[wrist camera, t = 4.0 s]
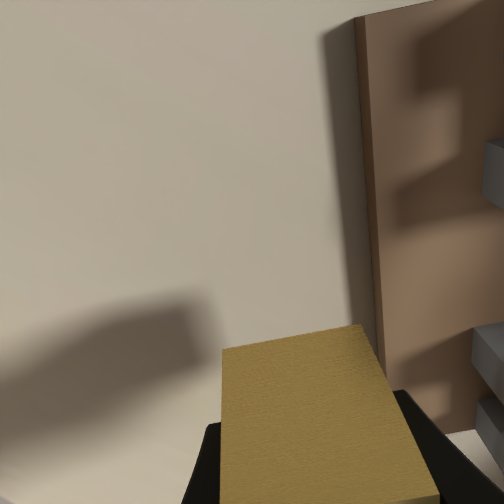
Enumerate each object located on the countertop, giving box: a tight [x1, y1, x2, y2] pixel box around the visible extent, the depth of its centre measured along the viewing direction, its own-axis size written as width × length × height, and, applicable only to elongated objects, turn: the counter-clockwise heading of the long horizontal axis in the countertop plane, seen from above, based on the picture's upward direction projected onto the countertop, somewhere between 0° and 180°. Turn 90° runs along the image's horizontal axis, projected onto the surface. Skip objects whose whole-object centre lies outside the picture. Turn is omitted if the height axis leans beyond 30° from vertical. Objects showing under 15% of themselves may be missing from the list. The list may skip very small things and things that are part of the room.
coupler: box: [220, 324, 440, 504], centre depth 11 cm, size 4×4×5 cm
